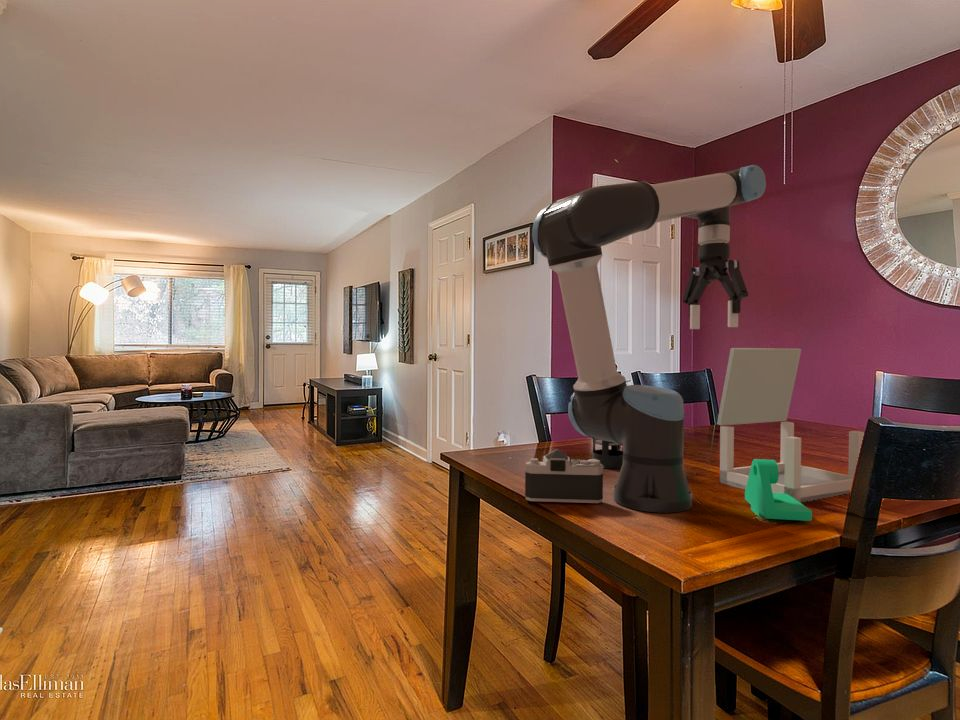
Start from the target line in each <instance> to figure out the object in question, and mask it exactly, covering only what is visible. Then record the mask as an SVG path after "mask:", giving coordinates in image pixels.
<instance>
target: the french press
mask: <svg viewBox="0 0 960 720" xmlns="http://www.w3.org/2000/svg"><path fill="white" fill-rule="evenodd" d="M596 445H599V446H601V448H599V449H596ZM621 446H623V445H622V444H617V443H613V442H608V441H603V440H595V439H592V459H597V460H600V464H602V465H603V466H604V468H603V469H610V470H611V469H612V470H614V469H615V470H616V469H620V470H621V467H622V464H623V450H620V447H621Z"/></svg>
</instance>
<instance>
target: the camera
mask: <svg viewBox="0 0 960 720" xmlns="http://www.w3.org/2000/svg"><path fill="white" fill-rule="evenodd" d="M604 469H605V468H604V466H603V465H602V464H600V460H597V459H593V458H590V459H587V460H586V459H576V458H574V459H570V456H568V455H567V454H565V453H564V452H562V451H561V450H559V449H558V448H556V449H555V450H553V451H551V452H549V453H547V454H545V455H543V458H542V461H539V459H538V458H530V459H529V461H526V462H525V473H524V474H525V480H524V481H525V482H524V487H525V488H524V490H525V491H524V496H525V500H526V501H529V502H546V503H547V502H549V503H551V502H553V503H583V504H584V503H585V504H587V503H588V504H600V503H603V499H604V496H603V494H604V493H603V492H604V491H603V490H604V489H603V488H604V487H603V486H604V485H603V484H604Z"/></svg>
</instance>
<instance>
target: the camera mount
mask: <svg viewBox="0 0 960 720" xmlns="http://www.w3.org/2000/svg"><path fill="white" fill-rule="evenodd" d="M777 463H778V462H777V461H776V460H775V459H765V458H764V459H763V458H761V459H760V458H754V459H753V460H752V462H751V465H750V466H751V469H750V473H749V477H748V481H747V485H746V489H745V490H744V500H745V501H746V502H747V503H748V504H750V510H751V511H752V512H753V513H754V514H755V515H756V516H758V517H759V518H765V519H767V520H768V519H769V520H770V519H771V520H772V519H773V520H784V521H785V520H789V521H805V522H808V521H809V522H810V521H812V520H813V511H812V510H811V509H810V508H808V507H807V506H805V505H804V504H803V503H800V502H798V501H797V500H795V499H794V498H793V497H791V496H790V495H788V494H783V493H772V488H771V484H776V483H777V482H778V478H779V470H778V465H777Z"/></svg>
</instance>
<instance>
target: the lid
mask: <svg viewBox="0 0 960 720" xmlns="http://www.w3.org/2000/svg"><path fill="white" fill-rule="evenodd" d="M801 354H802V349H801V348H795V347H793V348H790V347H789V348H788V347H787V348H785V347H784V348H783V347H782V348H777V347H774V348H773V347H772V348H770V347H769V348H768V347H767V348H766V347H765V348H764V347H762V348H761V347H759V348H758V347H754V348H753V347H731V348H730V350H729V355H728V362H727V367H726V372H725V379H724V383H723V388H722V389H723V390H722V393H721V394H722V395H721V399H720V405H719V411H718V416H717V422H716V425H719V426H733V425H744V424H745V425H747V424H758V423H759V424H761V423H772V422H773V423H774V422H788V421H787V420H788V416H789V410H790V406H791V402H792V397H793V393H794V386H795V384H796V377H797V374H798V373H797V372H798V367H799V364H800V359H801Z"/></svg>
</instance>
